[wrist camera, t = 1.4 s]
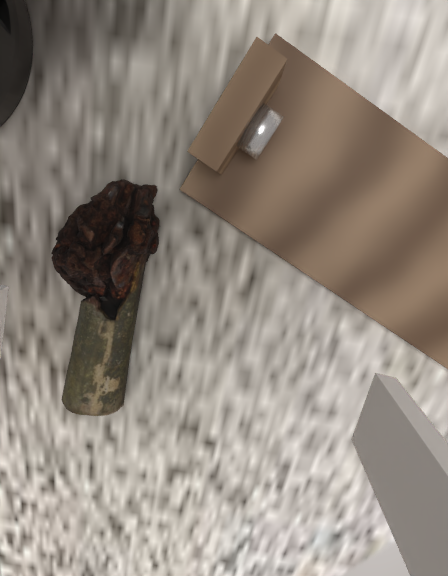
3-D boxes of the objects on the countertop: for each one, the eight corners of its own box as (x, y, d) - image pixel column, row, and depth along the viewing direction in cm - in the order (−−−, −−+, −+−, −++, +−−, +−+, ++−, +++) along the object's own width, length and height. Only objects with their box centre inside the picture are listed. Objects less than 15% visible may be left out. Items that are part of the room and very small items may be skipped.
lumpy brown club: (129, 395, 36) (108, 432, 31) (53, 376, 36) (18, 409, 31) (173, 190, 32) (158, 190, 27) (87, 168, 32) (54, 164, 27)
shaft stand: (182, 189, 32) (164, 189, 25) (273, 41, 29) (283, -9, 22) (496, 399, 35) (563, 455, 27) (605, 280, 32) (711, 306, 25)
